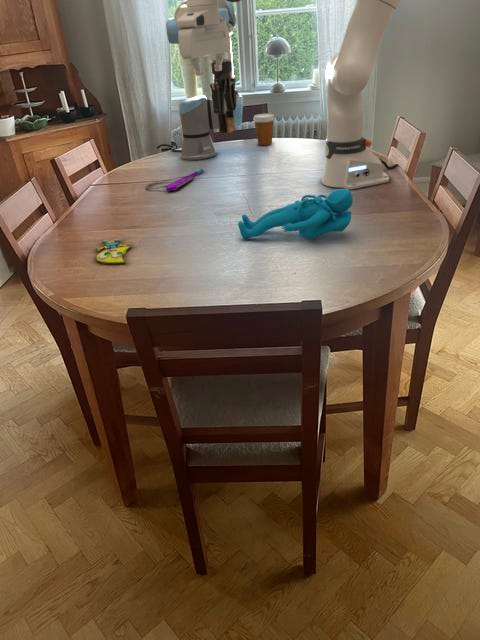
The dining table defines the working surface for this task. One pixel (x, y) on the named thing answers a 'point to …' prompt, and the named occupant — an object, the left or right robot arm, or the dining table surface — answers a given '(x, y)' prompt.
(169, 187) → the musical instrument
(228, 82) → the left robot arm
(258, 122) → the beer glass
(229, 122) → the block
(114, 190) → the dining table surface
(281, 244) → the dining table surface
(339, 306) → the dining table surface
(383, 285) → the dining table surface
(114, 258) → the toy
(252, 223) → the toy
